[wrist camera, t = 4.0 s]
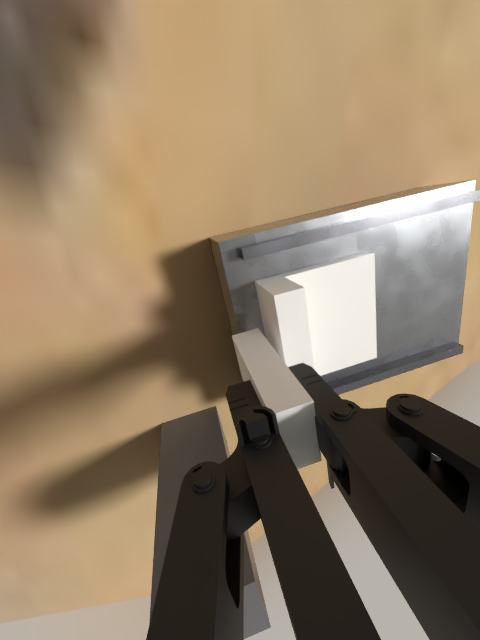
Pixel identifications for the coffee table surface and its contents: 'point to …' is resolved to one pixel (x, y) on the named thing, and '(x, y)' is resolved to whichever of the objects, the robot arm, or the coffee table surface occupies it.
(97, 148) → the coffee table surface
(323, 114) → the coffee table surface
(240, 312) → the socket
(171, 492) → the plug
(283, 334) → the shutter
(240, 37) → the coffee table surface
